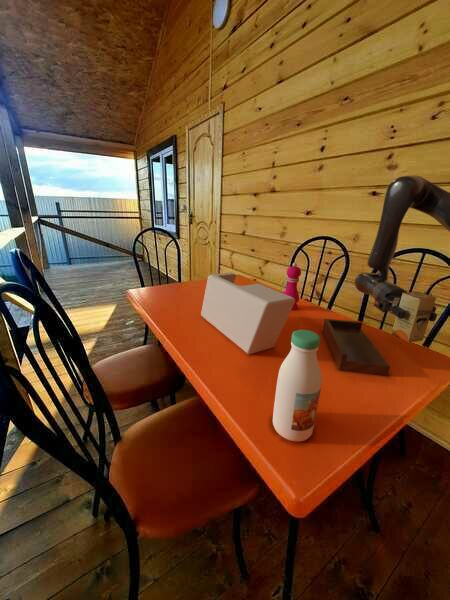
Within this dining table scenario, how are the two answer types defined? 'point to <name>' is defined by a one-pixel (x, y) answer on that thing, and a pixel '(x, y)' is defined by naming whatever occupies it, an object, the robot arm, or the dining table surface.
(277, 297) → the stepped white block
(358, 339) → the dark brown tray
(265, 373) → the dining table surface
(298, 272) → the pepper mill
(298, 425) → the milk bottle
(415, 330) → the shoe polish box
